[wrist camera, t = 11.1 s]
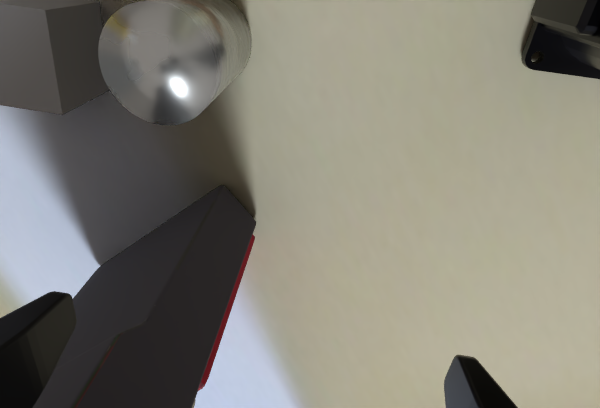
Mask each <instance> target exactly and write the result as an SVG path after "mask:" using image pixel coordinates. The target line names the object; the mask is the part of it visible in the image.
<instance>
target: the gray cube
mask: <svg viewBox="0 0 600 408" xmlns="http://www.w3.org/2000/svg"><path fill="white" fill-rule="evenodd" d="M102 30H103V29H102V19H101V9H100V2H97V1H90V0H0V105H3V106H10V107H16V108H23V109H29V110H35V111H42V112H48V113H54V114H61V115H63V114H65V113H67V112H69V111H71V110H73V109H74V108H76V107H78V106H80V105H82V104H84V103H86V102H88V101H90V100H92V99H93V98H95V97H97V96H99V95H101V94H103V93H105V92H107V91H109V88H108V86H107V84H106V82H105V80H104V78H103V75H102V72H101V69H100V64H99V57H98V46H99V39H100V35H101V32H102Z"/></svg>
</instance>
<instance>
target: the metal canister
mask: <svg viewBox="0 0 600 408" xmlns="http://www.w3.org/2000/svg"><path fill="white" fill-rule="evenodd" d="M251 47H252V39H251V33H250V29H249V26H248V23H247V21H246V19H245V17H244V15H243V14H242V12H241V11H240V10H239V8H238V7H237V6H236V5H235V4H234V3H233V2H231V1H230V0H145V1H139V2H135V3H131V4H128V5H126V6H123V7H122V8H120V9H119V10H117V11H116V12H115V13H114V14H113V15H112V16H111V17H110V18H109V19H108V21H107V22H106V24H105V26H104V27H103V30H102V32H101V35H100V39H99V46H98V57H99V64H100V69H101V72H102V75H103V78H104V80H105V82H106V84H107V86H108V88H109V90H110V91H111V93H112V94H113V95H114V97H115V98H116V99H117V100H118V101H119V103H120V104H121V105H122V106H124V107H125V108H126V109H127V110H128V111H130V112H131V113H132V114H134V115H135V116H137V117H139V118H141V119H143V120H145V121H148V122H151V123H154V124H159V125H178V124H182V123H185V122H188V121H190V120H192V119H194V118H195V117H197V116H198V115H199V114H200V113H201V112H202V111H203V110H204V109H205V108H206V107H207V106H208V105H209V104H210V103H211V102H212V101H213V100H214V99H215V98H216V97H217V96H218V95H219V94H220V93H221V92H222V91H223V90H224V89H225V88H226V87H227V86H228V85H229V84H230V83H231V82H232V81H233V80H234V79H235V78H236V77H237V76H238V75H239V74H240V73H241V72H242V71H243V69H244V68H245V66H246V65H247V63H248V60H249V58H250V54H251Z"/></svg>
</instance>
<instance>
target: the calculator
mask: <svg viewBox="0 0 600 408" xmlns="http://www.w3.org/2000/svg"><path fill="white" fill-rule="evenodd" d="M255 226H256V221H255V220H254V219H253V217H252V216H251V215H250V214H249V213H248V212H247V211H246V209H245V208H244V207H243V206H242V205H241V204H240V203H239V201H238V200H237V199H236V198H235V197H234V196H233V195H232V194H231V192H230V191H229V190H228V189H227V188H226V187H225V186H224V185H220V186H218V187H217V188H215V189H214V190H212V191H211V192H209V193H208V194H206V195H205V196H203V197H202V198H201V199H199V200H198V201H196V202H195V203H193V204H192V205H190V206H189V207H187V208H186V209H184V210H183V211H181V212H180V213H178V214H177V215H175V216H174V217H172V218H171V219H170V220H168V221H167V222H165V223H164V224H162V225H161V226H159V227H158V228H156V229H155V230H153V231H152V232H150V233H149V234H147V235H146V236H144V237H143V238H141V239H140V240H139V241H137V242H136V243H134V244H133V245H131V246H130V247H128V248H127V249H125V250H124V251H122V252H121V253H119V254H118V255H116V256H115V257H113V258H112V259H110V260H109V261H108V262H106V263H105V264H103V265H102V266H100V267H99V268H98V269H97V270H96V271H95V273H94V274H93V275H92V276H91V277H90V279H89V280H88V281H87V282H86V284H85V285H84V286H83V287H82V288H81V290H80V291H79V292H78V293H77V295H76V296H75V297H74V298H73V304H74V309H75V313H76V319H77V320H76V326H75V329H74V331H73V333H72V335H71V337H70V339H69V341H68V343H67V345H66V347H65V349H64V351H63V353H62V355H61V357H60V359H59V361H58V363H57V365H56V367H55V369H54V371H53V373H52V375H51V377H50V379H49V381H48V383H47V384H46V386H45V388H44V390H43V392H42V393H41V395H40V397H39V398H38V400H37V402H36V403H35V405H34V406H33V408H194V405H195V397H196V394H197V392H198V391H199V390H200V389H202V388H203V387H204V386H205V384H206V382H207V379H208V377H209V374H210V371H211V368H212V365H213V362H214V359H215V356H216V353H217V350H218V347H219V344H220V341H221V338H222V335H223V332H224V329H225V326H226V323H227V320H228V317H229V314H230V312H231V309H232V306H233V303H234V300H235V297H236V294H237V291H238V288H239V285H240V282H241V279H242V276H243V273H244V270H245V267H246V264H247V261H248V258H249V255H250V252H251V249H252V246H253V243H254V239H255V236H254V235H253V231H254V229H255Z"/></svg>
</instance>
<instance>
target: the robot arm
mask: <svg viewBox="0 0 600 408" xmlns="http://www.w3.org/2000/svg"><path fill="white" fill-rule="evenodd" d="M531 15H532V17H533V20H534V24H533V26H532V29H531V32H530V34H529V37H528V40H527V43H526V45H525V48H524V51H523V53H522V63H523V64H524V65H525V66H526V67H528V68H530V69H532V70H539V71H546V72H553V73H560V74H568V75H575V76H582V77H589V78H597V79H600V0H536V1H535V4H534V7H533V10H532V13H531ZM537 51H539V52H540V57H539V59H538V60H537V61H535V62H532V61H531V57H532V55H533V54H534V53H535V52H537ZM76 320H77V319H76V313H75V309H74V304H73V299H72V296H71V295H70V294H68V293H62V292H55V291H54V292H49V293H47V294H45V295H43V296H41V297H40V298H38V299H36V300H34V301H32V302H30V303H28V304H26V305H24V306H22V307H20V308H19V309H17V310H15V311H13V312H11V313H9V314H7V315H5V316H3V317H1V318H0V408H33V406H34V405H35V403H36V402H37V400H38V398H39V397H40V395H41V393H42V392H43V390H44V388H45V386H46V384H47V383H48V381H49V379H50V377H51V375H52V373H53V371H54V369H55V367H56V365H57V363H58V361H59V359H60V357H61V355H62V353H63V351H64V349H65V347H66V345H67V343H68V341H69V339H70V337H71V335H72V333H73V331H74V329H75V326H76ZM444 391H445V403H446V408H518V407H517V406H516V405H515V404H514V403H513V401H512V400H511V399H510V398H509V397H508V396H507V394H506V393H505V392H504V391H503V390H502V389H501V387H500V386H499V385H498V384H497V383H496V381H495V380H494V379H493V378H492V377H491V376H490V374H489V373H488V372H487V371H486V370H485V369H484V367H483V366H482V365H481V364H480V363H479V361H478V360H477V359H475V358H474V357H470V356H464V355H456V356H455V357H454V359H453V361H452V363H451V366H450V368H449V370H448V372H447V375H446V377H445V381H444Z"/></svg>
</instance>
